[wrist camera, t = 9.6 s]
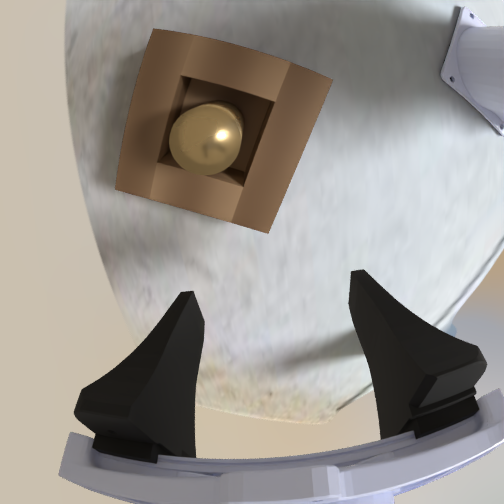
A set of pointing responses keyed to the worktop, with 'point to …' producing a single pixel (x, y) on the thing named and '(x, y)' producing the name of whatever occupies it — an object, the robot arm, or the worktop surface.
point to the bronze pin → (207, 137)
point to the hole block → (254, 133)
